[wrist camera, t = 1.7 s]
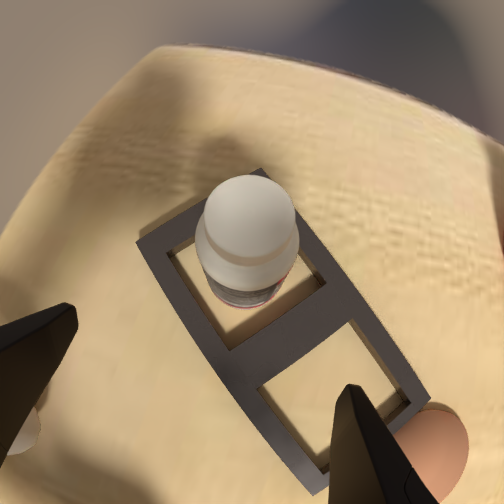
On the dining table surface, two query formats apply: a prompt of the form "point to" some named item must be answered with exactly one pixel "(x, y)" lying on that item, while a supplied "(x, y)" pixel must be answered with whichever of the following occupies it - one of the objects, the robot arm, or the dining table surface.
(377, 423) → the robot arm
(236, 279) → the pill bottle
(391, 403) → the dining table surface
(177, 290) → the dark grey flat frame
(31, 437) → the donut
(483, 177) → the dining table surface
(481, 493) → the dining table surface
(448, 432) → the coaster
